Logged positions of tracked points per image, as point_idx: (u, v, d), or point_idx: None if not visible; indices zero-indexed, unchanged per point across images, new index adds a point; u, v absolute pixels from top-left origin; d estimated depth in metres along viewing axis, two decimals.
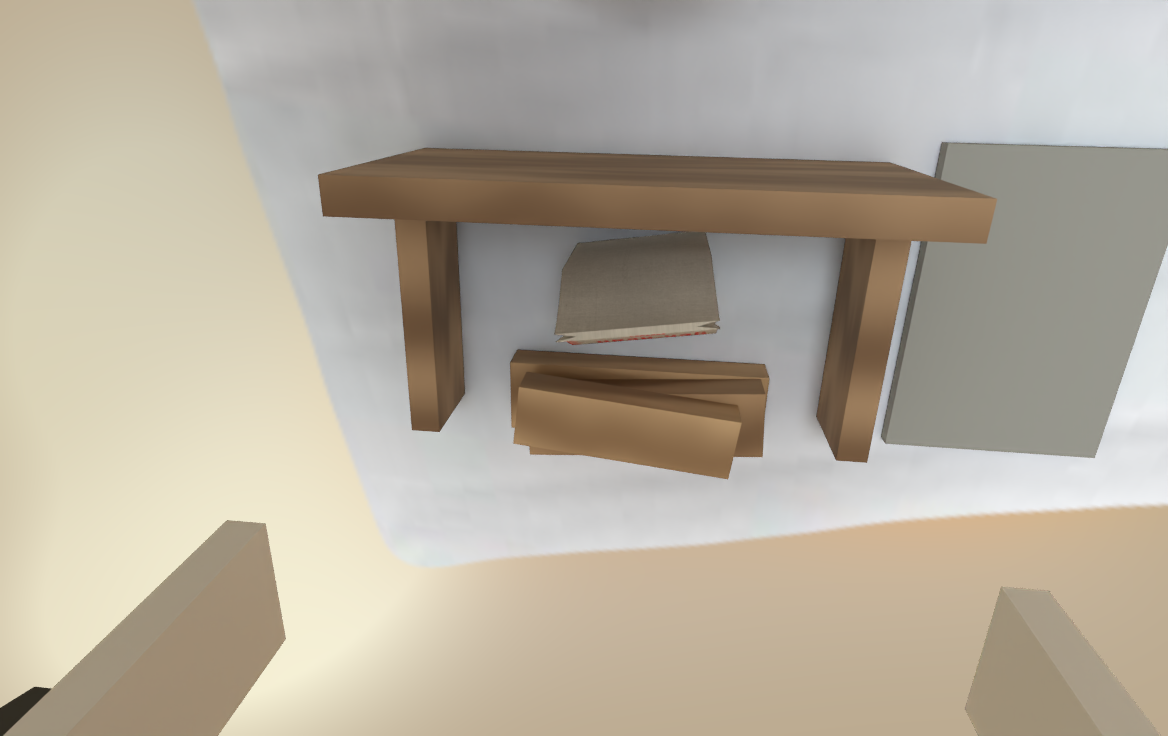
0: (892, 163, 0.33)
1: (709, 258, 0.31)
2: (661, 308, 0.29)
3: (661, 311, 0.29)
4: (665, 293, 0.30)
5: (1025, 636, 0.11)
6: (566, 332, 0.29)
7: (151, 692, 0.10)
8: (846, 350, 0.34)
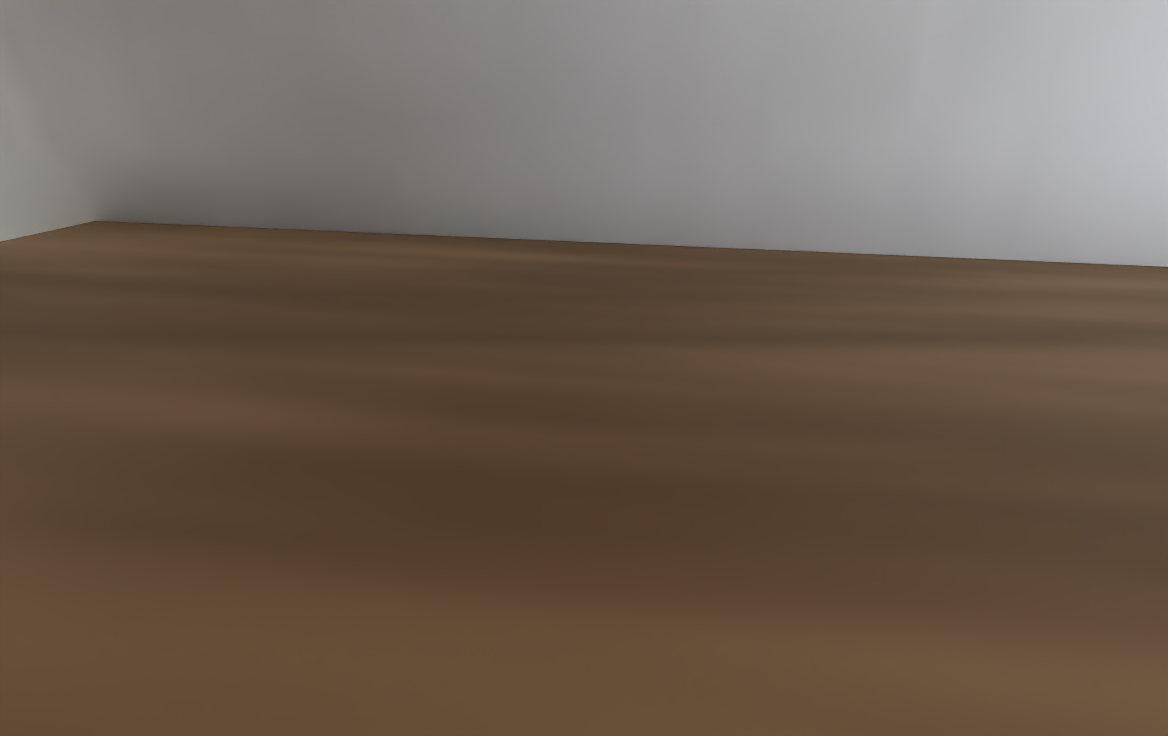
0: None
1: None
2: None
3: None
4: None
5: None
6: None
7: None
8: None
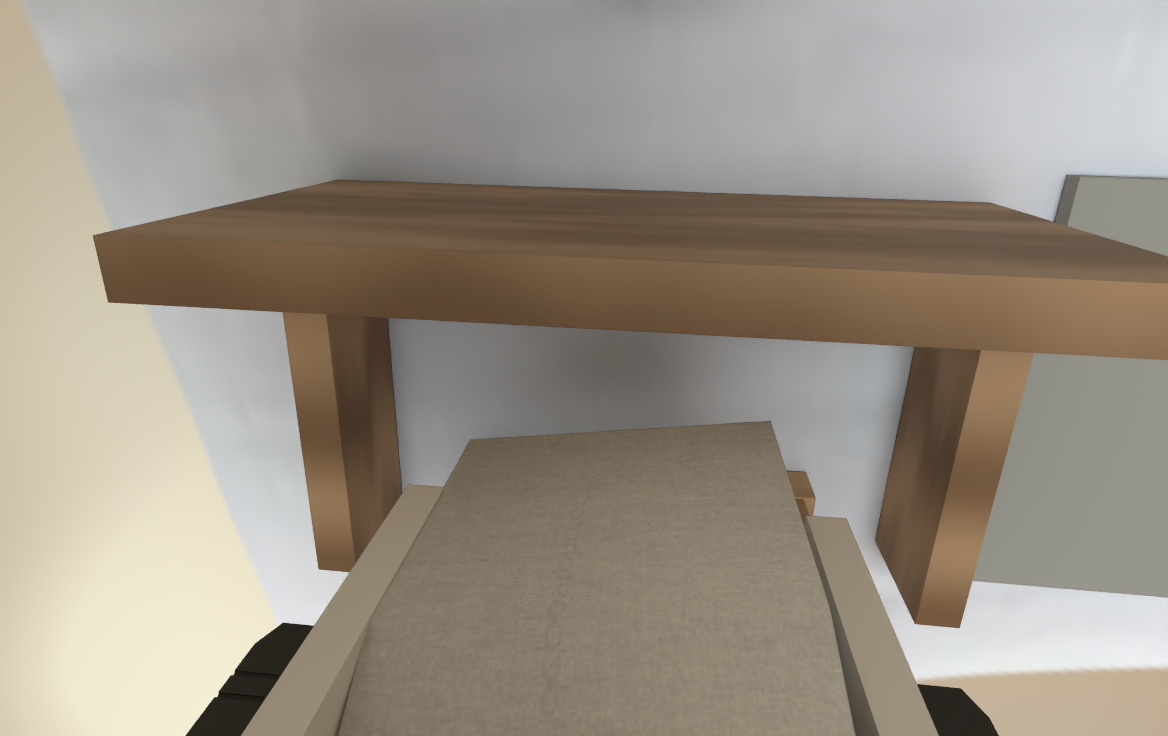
0: None
1: (826, 624, 0.09)
2: None
3: None
4: None
5: (814, 553, 0.12)
6: None
7: None
8: (930, 469, 0.24)
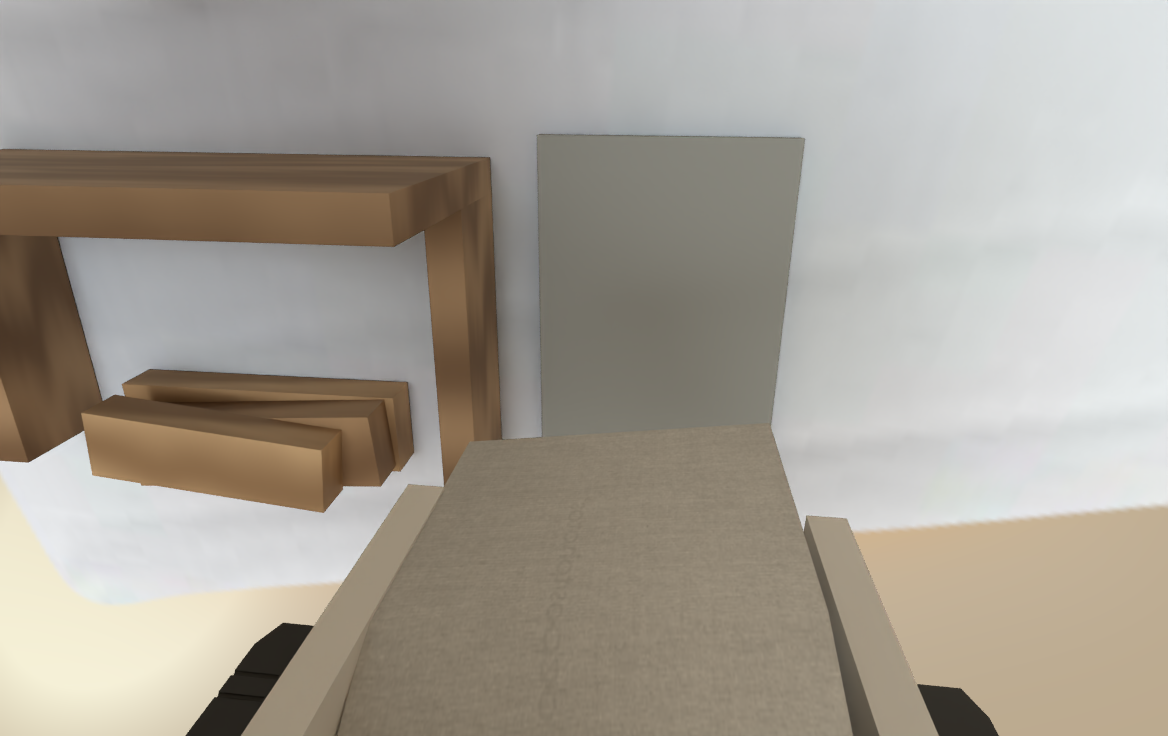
0: (486, 158, 0.30)
1: (824, 627, 0.09)
2: None
3: None
4: None
5: (815, 553, 0.12)
6: None
7: None
8: None
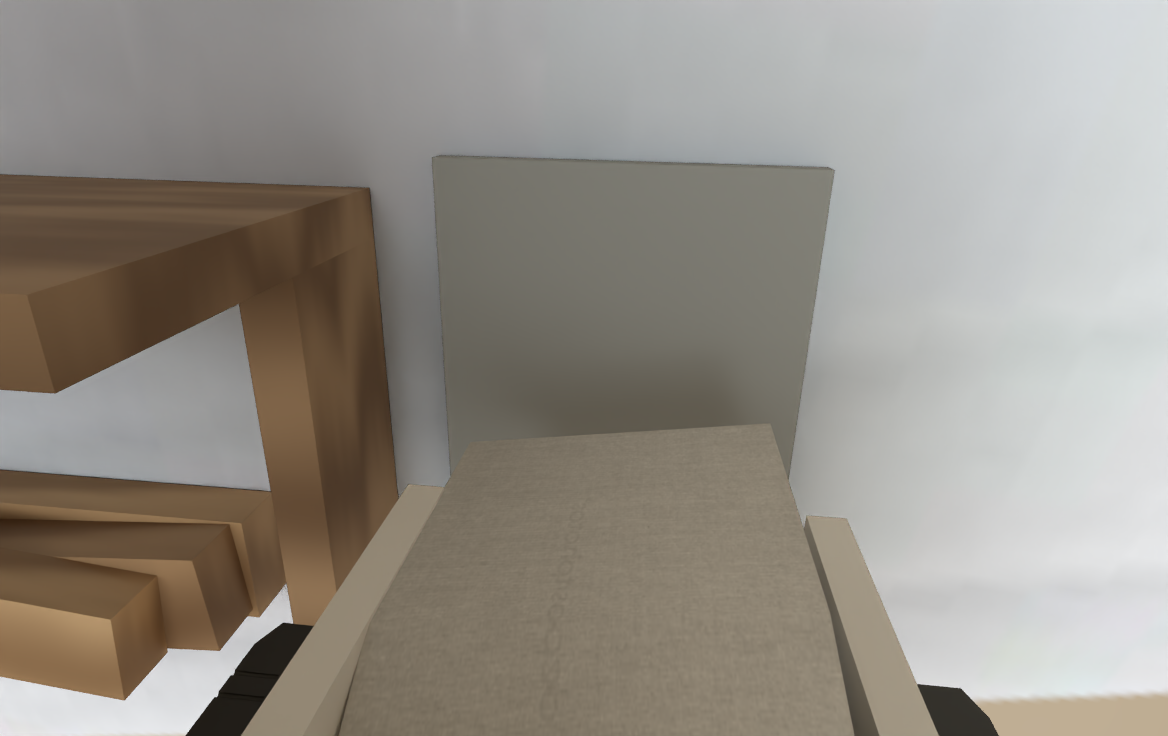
0: (360, 189, 0.20)
1: (826, 628, 0.09)
2: None
3: None
4: None
5: (814, 553, 0.12)
6: None
7: None
8: None
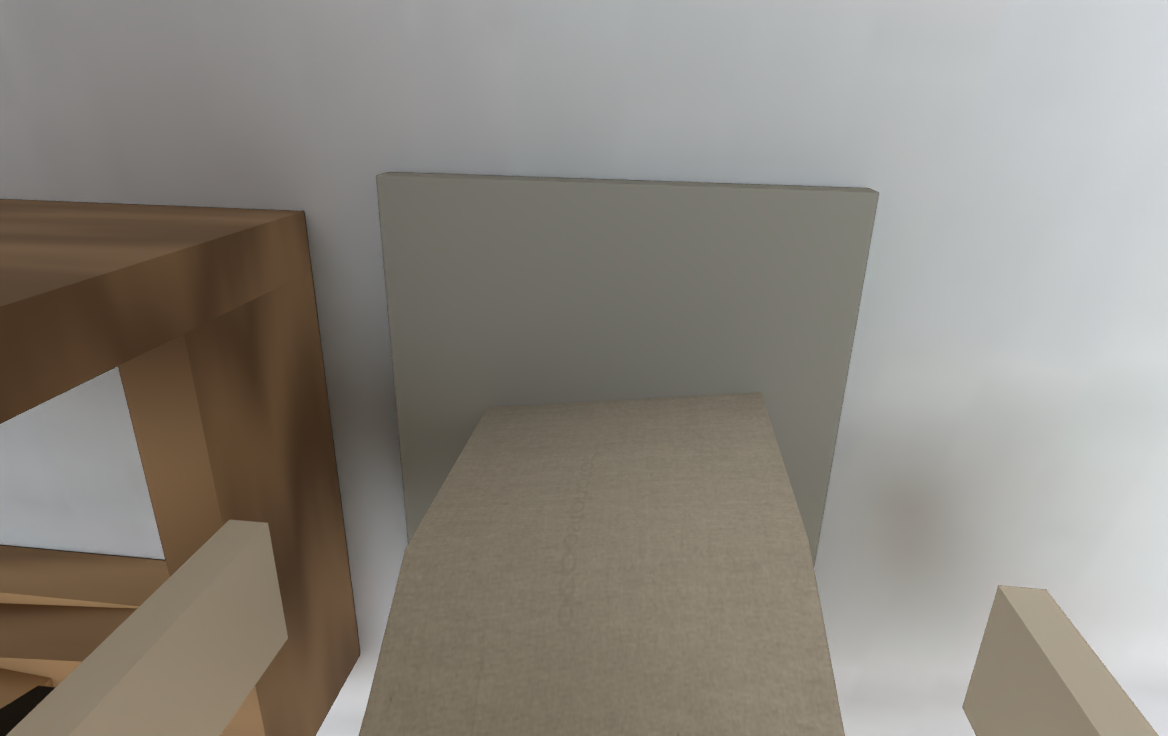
0: (291, 214, 0.16)
1: (804, 551, 0.11)
2: None
3: None
4: (681, 684, 0.10)
5: (1023, 635, 0.11)
6: None
7: (154, 691, 0.10)
8: None
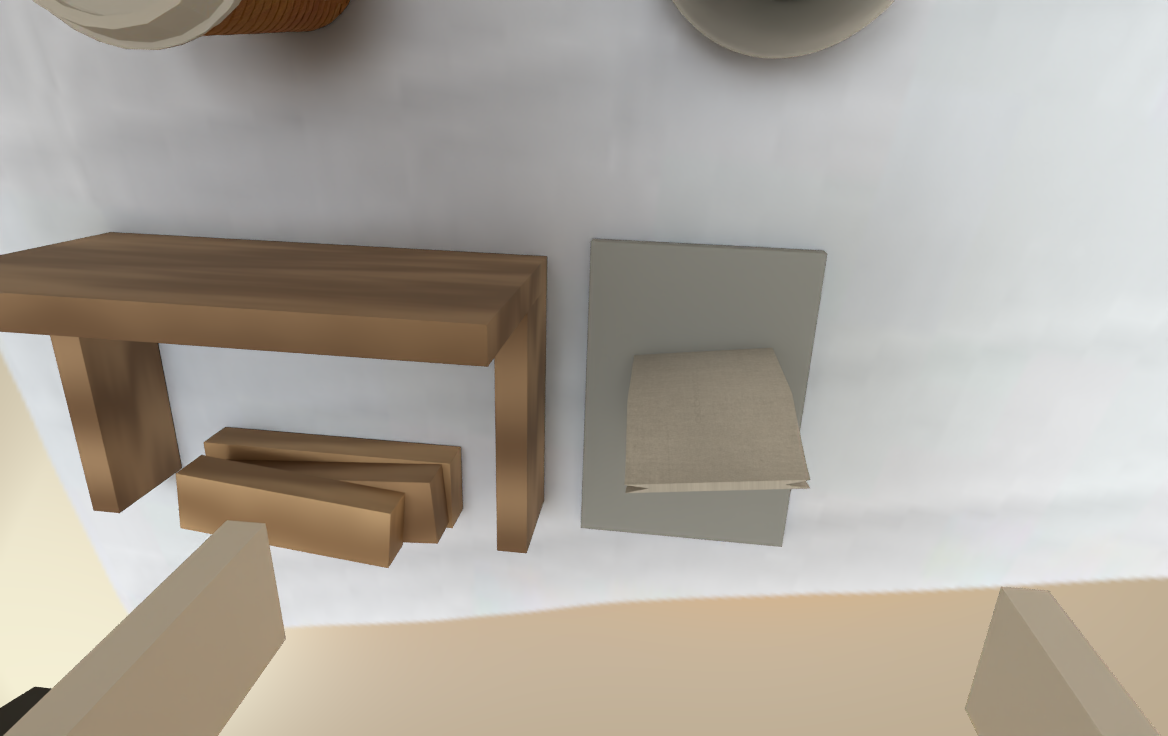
0: (544, 258, 0.34)
1: (790, 397, 0.28)
2: (742, 458, 0.26)
3: (741, 462, 0.26)
4: (744, 438, 0.27)
5: (1025, 636, 0.11)
6: (638, 482, 0.26)
7: (151, 692, 0.10)
8: None
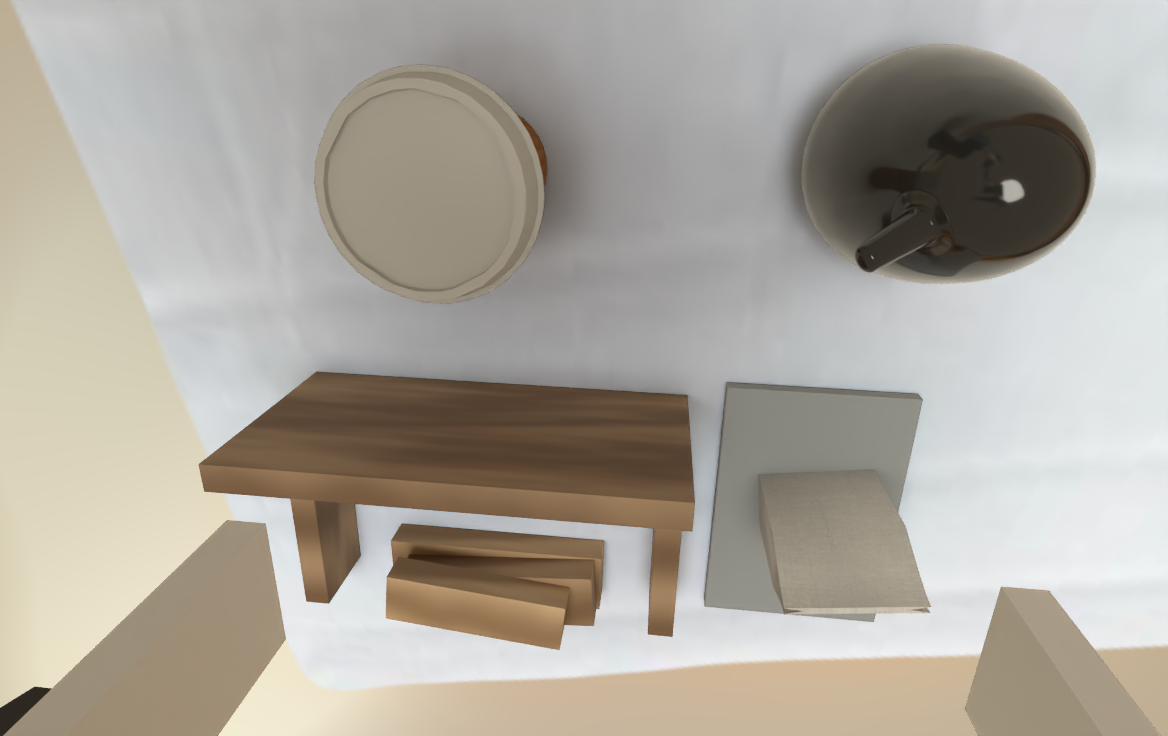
0: (687, 398, 0.41)
1: (904, 530, 0.36)
2: (873, 585, 0.34)
3: (873, 588, 0.34)
4: (872, 566, 0.35)
5: (1025, 636, 0.11)
6: (794, 606, 0.34)
7: (151, 692, 0.10)
8: None
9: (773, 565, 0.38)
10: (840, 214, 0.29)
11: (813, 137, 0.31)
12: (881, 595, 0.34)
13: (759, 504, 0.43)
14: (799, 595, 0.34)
